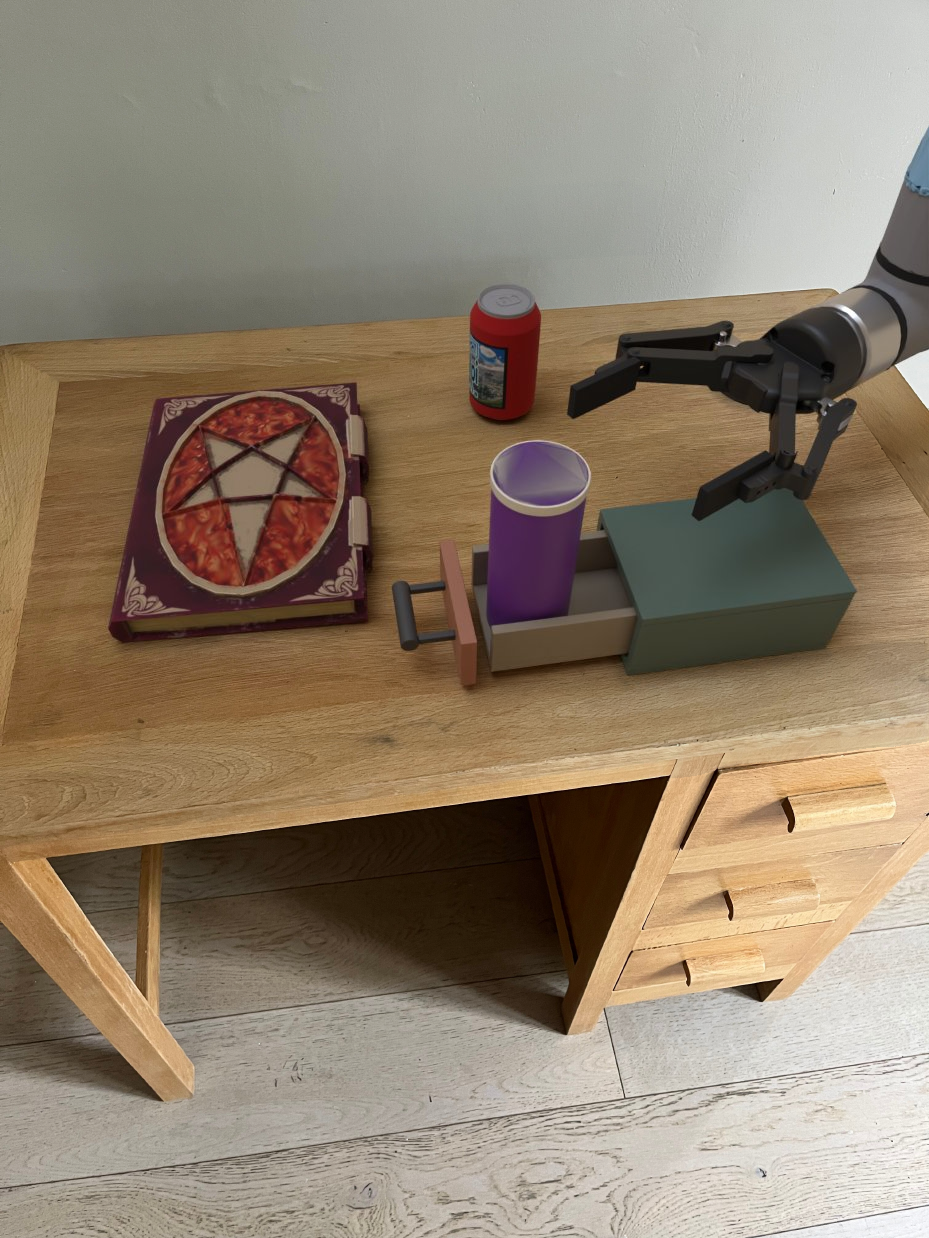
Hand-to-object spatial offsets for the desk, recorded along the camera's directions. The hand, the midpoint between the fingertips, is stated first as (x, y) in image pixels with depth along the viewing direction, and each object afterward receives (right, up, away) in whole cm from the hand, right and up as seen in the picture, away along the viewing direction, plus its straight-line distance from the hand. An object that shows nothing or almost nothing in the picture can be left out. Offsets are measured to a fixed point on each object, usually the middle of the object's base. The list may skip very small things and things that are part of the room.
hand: (631, 451), depth 62 cm
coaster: (+19, +13, +29) cm, 37 cm away
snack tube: (-7, -12, +7) cm, 15 cm away
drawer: (-8, -13, +7) cm, 17 cm away
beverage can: (-8, +10, +27) cm, 30 cm away
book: (-31, -2, +17) cm, 36 cm away
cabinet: (+8, -11, +10) cm, 17 cm away
